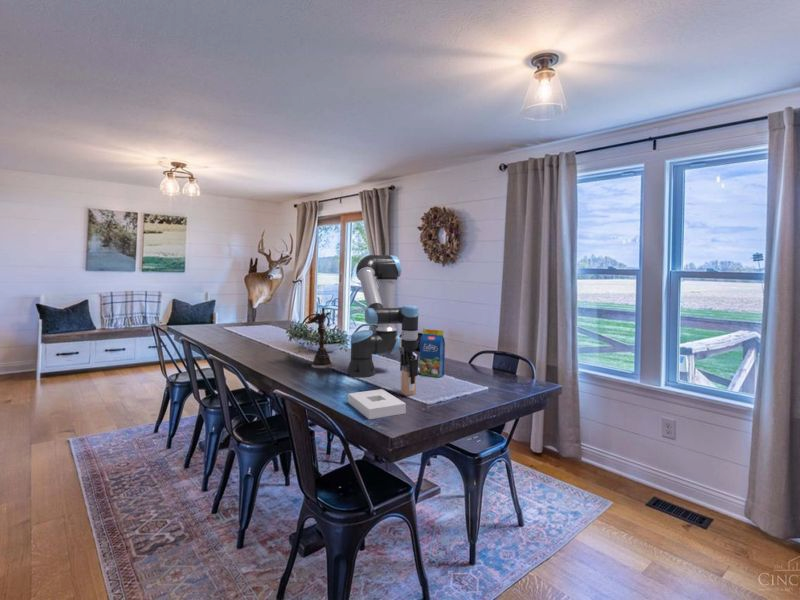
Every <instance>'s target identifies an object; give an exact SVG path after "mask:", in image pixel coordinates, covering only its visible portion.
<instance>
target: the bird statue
mask: <svg viewBox="0 0 800 600" xmlns="http://www.w3.org/2000/svg"><path fill="white" fill-rule="evenodd" d="M325 308H326V307H322V308H321V313H320V312H318V311H317V310H316V311H315V312H314V313H315V315H314V316H312V318H311V319H309V320H305V323H304V324H305V325H308V324H313V323H317V322H318V327H317V332H318V333H319V339H318V340H319V342H320V343H319V347H318V349H317V352H316V354H314V359H313V362H311V368H313V369H327V368H331V367H332V361H331V359H330V355H329V353H328V352H327V350H326V349H327V347H325V346H324V345H325V343H324V342H325V339H324V338H325V337H324V336H325V333H326V331H327V328H326V324H325V323H324V320H325V319H326V317H328V316H329V315H330V314H331V312H330V311H328V312H325Z"/></svg>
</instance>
